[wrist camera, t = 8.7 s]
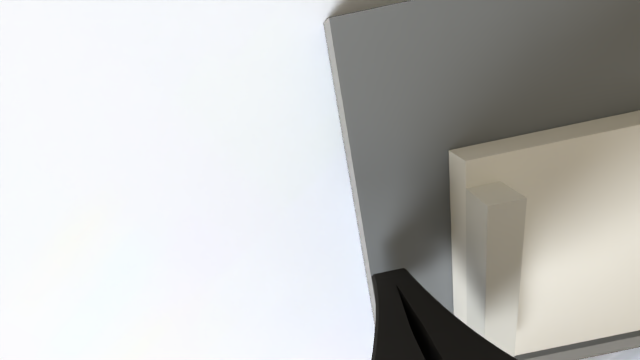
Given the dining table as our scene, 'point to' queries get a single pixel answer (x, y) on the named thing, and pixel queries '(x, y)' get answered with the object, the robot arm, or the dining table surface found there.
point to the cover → (548, 234)
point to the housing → (466, 111)
